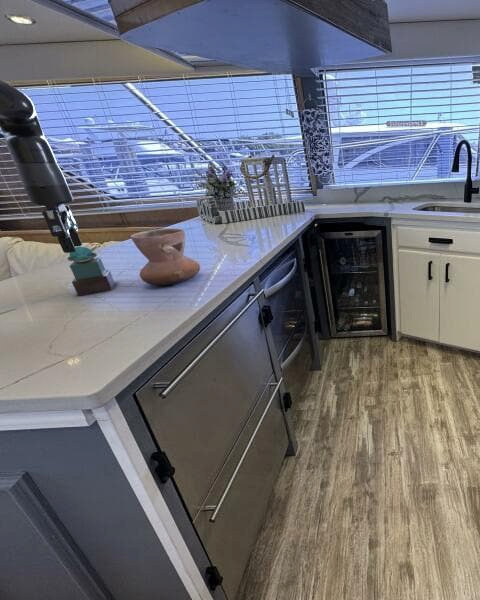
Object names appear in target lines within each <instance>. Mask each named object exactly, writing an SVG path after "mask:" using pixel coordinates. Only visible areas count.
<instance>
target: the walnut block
mask: <svg viewBox="0 0 480 600" xmlns="http://www.w3.org/2000/svg"><path fill="white" fill-rule="evenodd" d="M105 270H106V272H105V273H104V275H103V276H99V277H93V278H87V279H81V280H76V279H75V277H73V279H72V281H71V283H72V285H73V288H74V290H75V292H76V294H77V296H78V297H79V296H85V295H91V294H96V293H101V292H107V291H112V290H113V288H114V286H115V283H116V282H115V279H114V277H113V275H112V273H111V270H110V269H105Z"/></svg>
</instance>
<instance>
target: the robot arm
mask: <svg viewBox="0 0 480 600" xmlns="http://www.w3.org/2000/svg"><path fill="white" fill-rule="evenodd" d="M0 130H1V132H2V134H3V136H4V142H5V144H6V145H5V146H6V148H7V150H8V152H9V155H10V157H11V160H12V161H13V163H14V166H15V168H16V173H17V176H18V177H19V179H20V182H21V184H22V186H23V188H24V191H25V193H26V194H27V197H28V200H29V201H30V203H31V205H33V206H44V207H45V210H42V211H41V215H42V216H43V218H44V220H45V223H46V225H47V227H48V230H49V232H50V235H51V236H52V237H55V239H57V241H58V243H59V245H60V248H61V249H62V252H63V253H64V254H70V253H71V252H75V251H76V249H75V247H82V245H83V242H82V240H81V237H80V235H79V232H78V231H79V225H78V224H77V220H76V219H75V217H74V215H73V212H72V210H71V207H70V206H69V205H66V204H72V203H74V201H75V200H74V197H73V195H72V192H71V190H70V187H69V185H68V183H67V180H66V178H65V175H64V173H63V171H62V169H61V168H60V166H59V163H58V162H57V159H56V156H55V154H54V152H53V150H52V147H51V145H50V144H49V141H48V140H47V138H46V137H45V134H44V132H43V131H44V130H43V128H42V126H41V122H40V119H39V117H38V114H37V112H36V108H35V105H34V103H33V101H32V100H31V99H30V97H29V96H27V94H25V93H24V92H23V91H21V90H20V89H18V88H16V87H15V86H12V85H11V84H9V83H8V82H5V81H3V80H1V79H0Z"/></svg>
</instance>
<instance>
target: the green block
mask: <svg viewBox="0 0 480 600" xmlns="http://www.w3.org/2000/svg"><path fill="white" fill-rule="evenodd" d="M69 268H70V270H71V273H72V274H73V278H75V279H76V280H81V279H87V278H93V277H99V276H103V275H104V273H105V272H106V270H107V269H106V268H105V266H104V263H103V260H102V259H101V257H94V258H93V259H92V260H90V261H86V262H74V261H72V263H70V265H69Z"/></svg>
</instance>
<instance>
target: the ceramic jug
mask: <svg viewBox="0 0 480 600" xmlns="http://www.w3.org/2000/svg"><path fill="white" fill-rule="evenodd" d="M130 238H131V240H132V242H133V244H134V245H135V246H136V248H137V249H138V250H139V252H140V253H141V254H142V255H143V256H144V257H145V258H146V259H147V260H148V261H147V263H146V264H145V265H144V266H143V267H142V268H141V269H140V271H139V278H140V279H141V280H142V281H143V282H144V283H146V284H149V285H154V286H169V285H170V286H171V285H175V284H176V285H177V284H179V283H184V282H186V281H189V280H191V279H192V278H194V277H195V276H197V275H198V274H199V272H200V270H201V265H200V263H199V262H198V261H197V260H195V259H193V258H190V257H188V256H185V254H184V252H185V245H186V232H185V229H182V228H158V229H149V230H145V231H140V232H139V231H138V232H135V233H133V234H131V235H130Z"/></svg>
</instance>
